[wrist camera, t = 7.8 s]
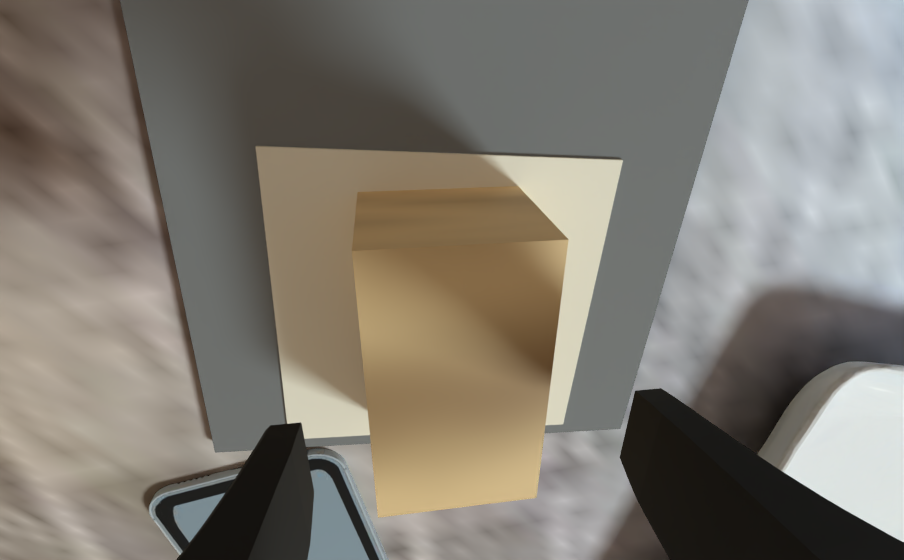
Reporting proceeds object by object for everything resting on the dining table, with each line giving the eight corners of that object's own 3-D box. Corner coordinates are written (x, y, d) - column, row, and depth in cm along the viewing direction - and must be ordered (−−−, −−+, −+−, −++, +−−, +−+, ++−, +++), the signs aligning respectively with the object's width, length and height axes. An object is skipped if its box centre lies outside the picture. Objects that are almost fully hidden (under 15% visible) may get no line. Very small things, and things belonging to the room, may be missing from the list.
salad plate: (1129, 369, 23) (1242, 419, 20) (869, 623, 32) (920, 684, 29) (781, 311, 18) (861, 366, 15) (586, 629, 27) (612, 704, 24)
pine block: (503, 403, 17) (536, 498, 14) (377, 415, 17) (378, 517, 13) (518, 186, 14) (568, 239, 10) (357, 192, 13) (351, 251, 10)
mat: (821, -285, 10) (841, -299, 10) (615, 421, 19) (621, 430, 19) (36, -449, 8) (16, -479, 8) (218, 443, 17) (214, 454, 16)
